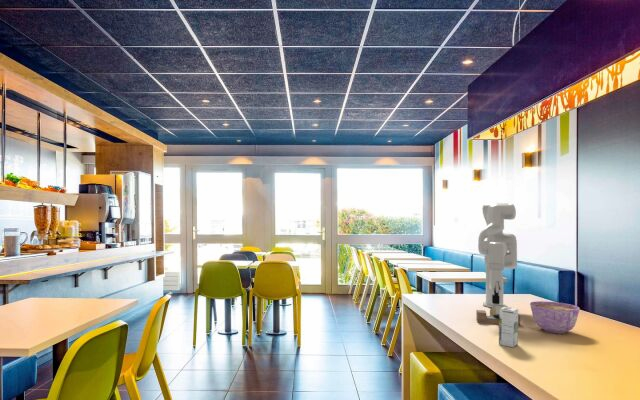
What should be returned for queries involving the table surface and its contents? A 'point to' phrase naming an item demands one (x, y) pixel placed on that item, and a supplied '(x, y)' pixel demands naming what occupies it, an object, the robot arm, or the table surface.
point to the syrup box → (508, 326)
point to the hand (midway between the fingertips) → (495, 303)
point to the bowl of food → (554, 316)
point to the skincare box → (496, 310)
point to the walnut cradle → (489, 318)
